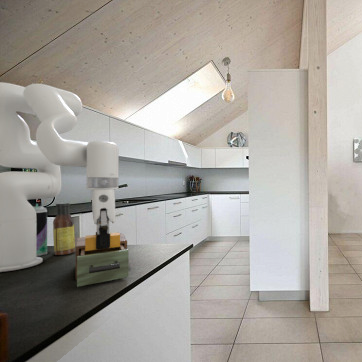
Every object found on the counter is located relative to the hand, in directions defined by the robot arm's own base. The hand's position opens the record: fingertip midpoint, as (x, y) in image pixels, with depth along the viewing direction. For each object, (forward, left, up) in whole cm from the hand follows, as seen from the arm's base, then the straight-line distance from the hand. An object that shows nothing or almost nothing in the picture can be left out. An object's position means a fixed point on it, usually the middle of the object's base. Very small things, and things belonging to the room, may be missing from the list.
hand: (102, 245), depth 75 cm
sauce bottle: (-42, +4, -10) cm, 43 cm away
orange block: (0, 0, 0) cm, 0 cm away
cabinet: (-10, +4, -10) cm, 14 cm away
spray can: (-49, -2, -10) cm, 50 cm away
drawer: (+2, -1, -9) cm, 9 cm away
